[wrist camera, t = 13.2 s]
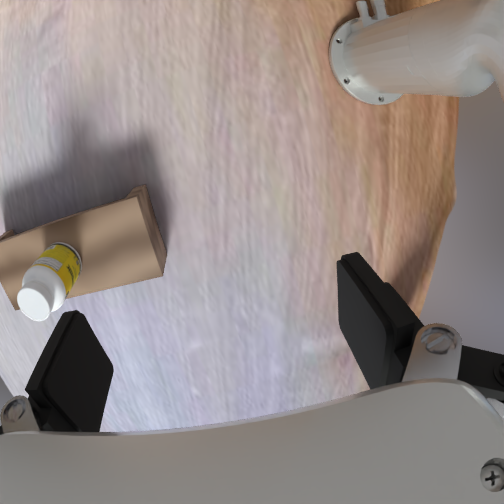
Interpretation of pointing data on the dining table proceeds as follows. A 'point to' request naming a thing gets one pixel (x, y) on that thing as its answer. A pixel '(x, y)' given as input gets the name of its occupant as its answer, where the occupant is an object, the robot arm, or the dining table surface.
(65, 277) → the supplement bottle
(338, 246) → the dining table surface
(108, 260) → the wooden shelf
